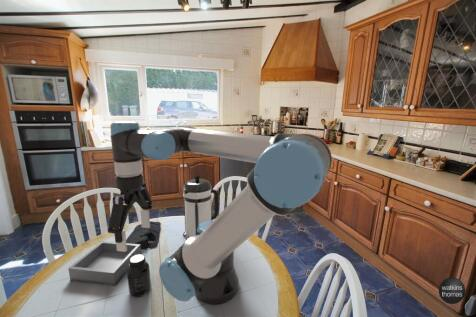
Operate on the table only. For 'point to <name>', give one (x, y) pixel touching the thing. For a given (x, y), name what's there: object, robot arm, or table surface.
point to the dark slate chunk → (145, 235)
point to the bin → (103, 264)
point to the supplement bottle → (138, 276)
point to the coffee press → (198, 204)
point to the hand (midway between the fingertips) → (135, 238)
